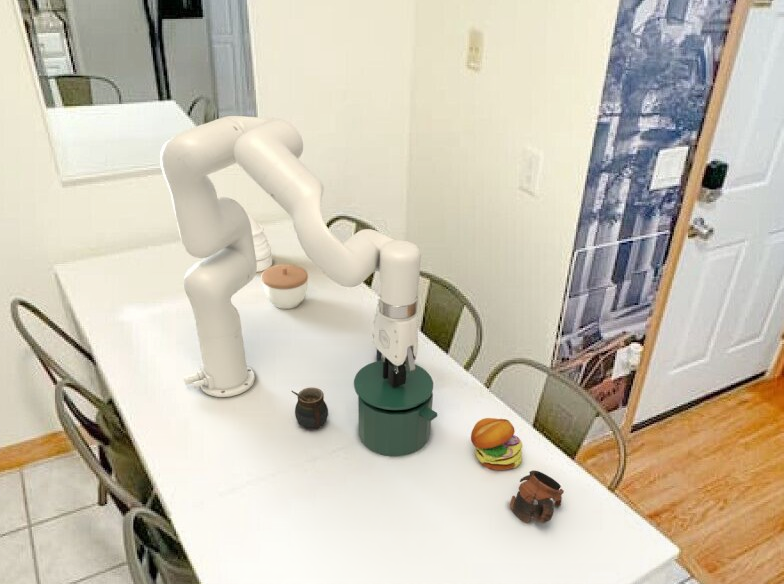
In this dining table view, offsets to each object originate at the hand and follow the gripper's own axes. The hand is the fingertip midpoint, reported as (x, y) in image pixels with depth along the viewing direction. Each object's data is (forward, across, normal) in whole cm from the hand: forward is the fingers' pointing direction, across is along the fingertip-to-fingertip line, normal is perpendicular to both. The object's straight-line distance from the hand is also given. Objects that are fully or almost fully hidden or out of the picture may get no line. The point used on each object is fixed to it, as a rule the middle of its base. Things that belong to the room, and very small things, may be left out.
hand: (393, 380), depth 133 cm
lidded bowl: (+15, -62, +4) cm, 64 cm away
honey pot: (+16, -90, +5) cm, 92 cm away
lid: (+1, 0, 0) cm, 1 cm away
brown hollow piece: (+14, +35, +11) cm, 39 cm away
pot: (+14, +1, 0) cm, 14 cm away
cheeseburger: (+14, +19, +14) cm, 27 cm away
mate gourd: (+15, -11, -14) cm, 23 cm away
